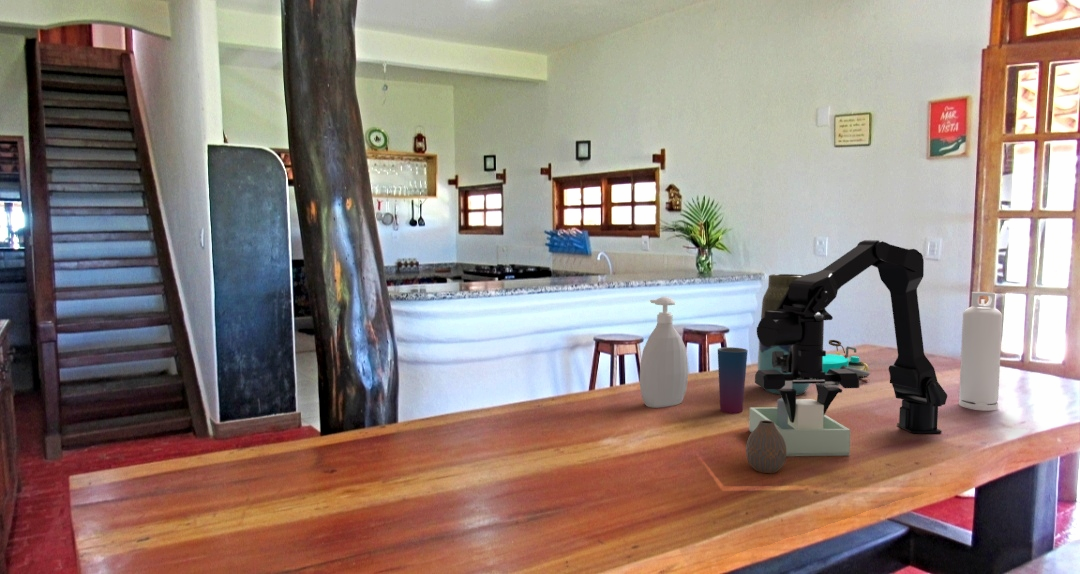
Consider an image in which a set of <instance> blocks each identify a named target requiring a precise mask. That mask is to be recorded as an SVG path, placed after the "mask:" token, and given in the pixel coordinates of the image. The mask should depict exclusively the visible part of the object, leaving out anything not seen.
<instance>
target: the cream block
mask: <svg viewBox="0 0 1080 574" xmlns="http://www.w3.org/2000/svg"><path fill="white" fill-rule="evenodd" d="M823 417H824V405H823V404H821V403H819V402H817V399H816V400H815V399H814V398H805V399H804V398H803V399H802V398H799V399H798V398H796V410H795V419H794V423H792V422H790V419H789V416H788V424H789V425H790V426H791V427H793V428H794V429H823Z"/></svg>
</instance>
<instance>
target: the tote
mask: <svg viewBox="0 0 1080 574" xmlns="http://www.w3.org/2000/svg"><path fill="white" fill-rule="evenodd" d="M748 414H749V418H748V431H749V432H751V433H752V432H753V431H754V430H755V429H756V427H757V426H758V424H759V422H760V421H762V420H768V421H772V422H774V424H775V427H776V428H777V430H778V431H779V432H780V434H781V435H782V437H783V438H784V441H785V444H786V457H828V456H829V457H830V456H831V457H832V456H833V457H834V456H835V457H840V456H841V457H842V456H843V457H845V456H847V457H848V456H849V457H850V455H851V429H850V428H848V427H846V426H845V425H843V424H841V423H839V422H838V421H836V420H835V419H833V418H831V417H829V416H828V415H826V414H825V415H824V417H823V429H781V428H780V427H779V426H777V406H775V407H749V412H748ZM751 433H750V434H751Z"/></svg>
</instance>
